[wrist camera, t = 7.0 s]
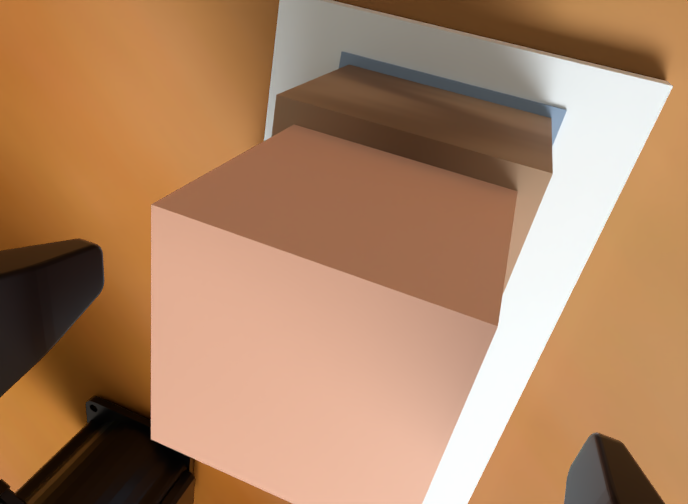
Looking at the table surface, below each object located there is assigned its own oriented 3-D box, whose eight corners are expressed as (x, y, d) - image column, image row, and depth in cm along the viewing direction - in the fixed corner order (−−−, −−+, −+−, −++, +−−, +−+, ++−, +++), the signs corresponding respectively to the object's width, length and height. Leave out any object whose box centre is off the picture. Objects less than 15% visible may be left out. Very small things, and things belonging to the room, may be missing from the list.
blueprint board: (238, 430, 26) (229, 444, 26) (291, -10, 16) (279, -10, 16) (452, 523, 24) (449, 540, 23) (667, 81, 14) (673, 86, 13)
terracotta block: (268, 303, 14) (150, 439, 10) (293, 124, 12) (151, 204, 8) (447, 371, 13) (400, 552, 9) (517, 191, 11) (497, 326, 7)
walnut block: (317, 237, 19) (250, 311, 15) (349, 64, 16) (276, 94, 12) (483, 293, 18) (462, 391, 13) (551, 118, 15) (552, 173, 10)
